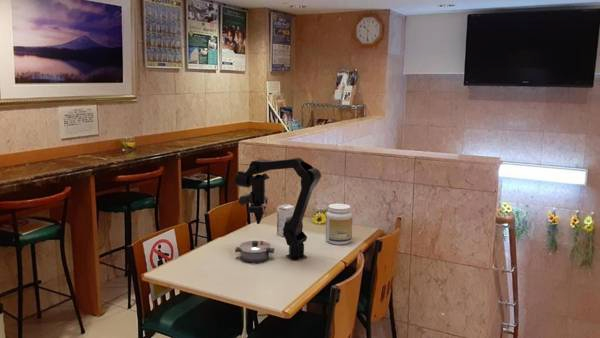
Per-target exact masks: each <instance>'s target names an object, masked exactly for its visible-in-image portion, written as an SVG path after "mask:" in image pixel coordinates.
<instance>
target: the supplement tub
mask: <svg viewBox="0 0 600 338" xmlns="http://www.w3.org/2000/svg"><path fill="white" fill-rule="evenodd" d="M327 207H328V208H327V210H328V211H327V212H326V213H325V214H326V216H325V240H326V242H327V243H329V244H333V245H338V246H340V245H348V244H349V243H351V242H352V240H353V237H352V236H353V213H352V211H351V210H352V209H351V208H352V207H351V205H349V204H346V203H331V204H328V206H327Z"/></svg>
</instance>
